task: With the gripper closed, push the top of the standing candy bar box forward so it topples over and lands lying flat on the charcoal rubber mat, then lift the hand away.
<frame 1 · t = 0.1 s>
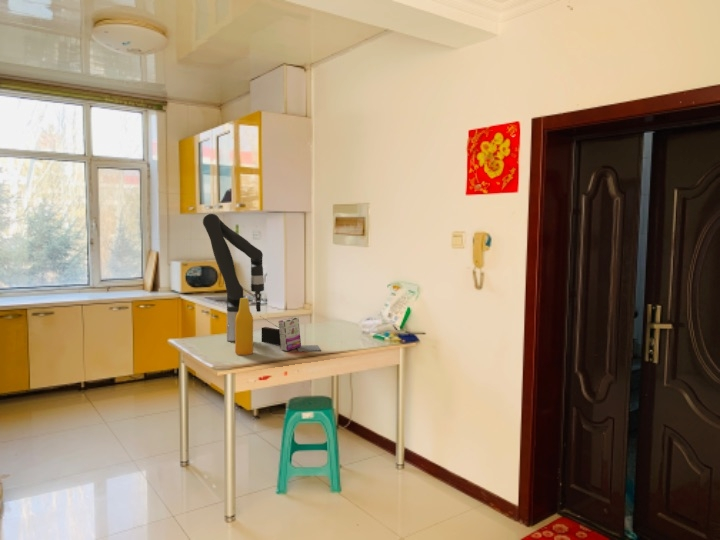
hand: (258, 310, 309), 17 cm above the table, tool pointing down, fingers open, 8 cm apart
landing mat: (308, 348, 288), on the table
candy bar box: (291, 349, 286), on the table, touching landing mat
radio: (272, 343, 300), on the table
beer bottle: (244, 353, 275), on the table
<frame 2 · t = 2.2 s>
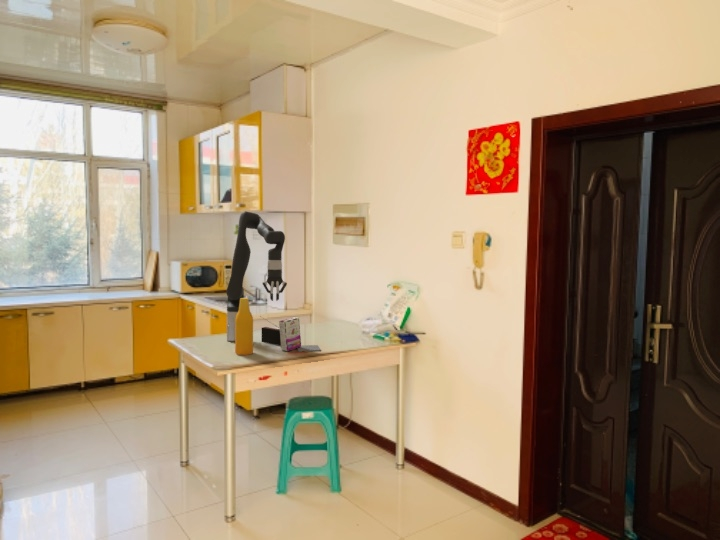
hand: (274, 300, 282), 27 cm above the table, tool pointing down, fingers closed
nothing on the table moved.
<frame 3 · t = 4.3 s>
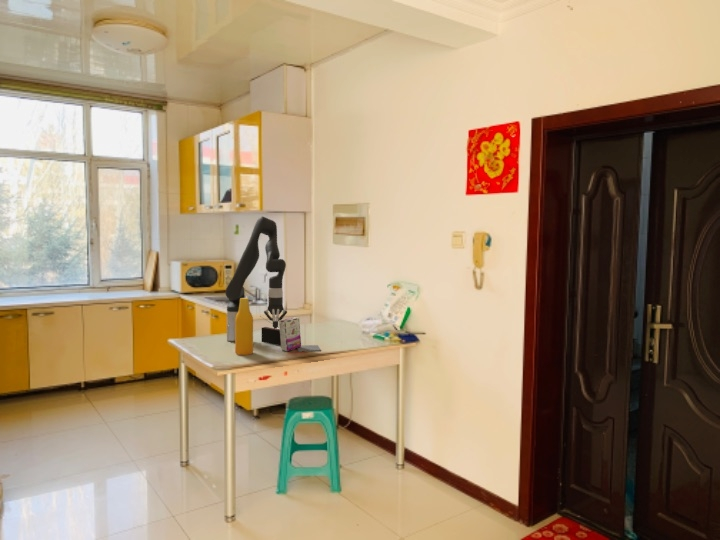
hand: (275, 328, 283), 12 cm above the table, tool pointing down, fingers closed
nothing on the table moved.
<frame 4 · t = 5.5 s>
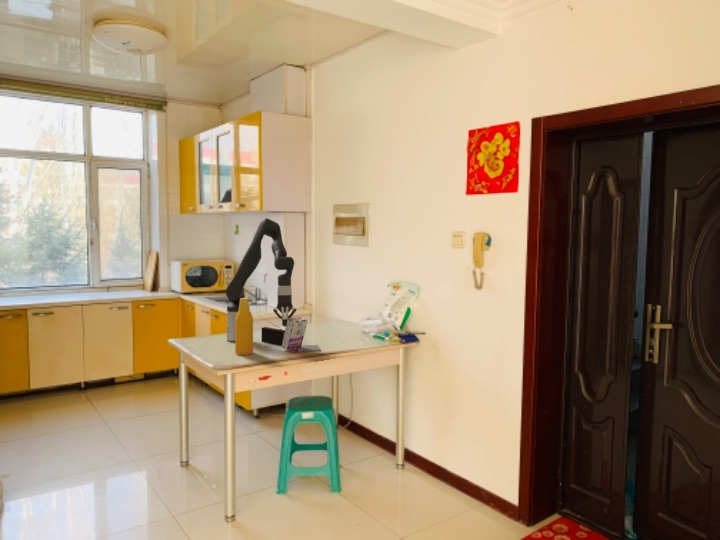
hand: (284, 326, 281), 13 cm above the table, tool pointing down, fingers closed
candy bar box: (291, 347, 286), point 1 cm above the table, touching gripper, hand, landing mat
everything else where it was.
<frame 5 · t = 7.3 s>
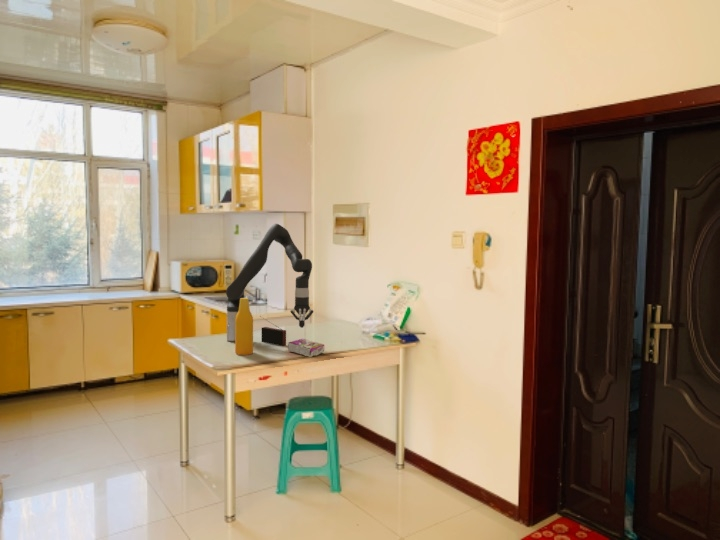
hand: (301, 327, 286), 12 cm above the table, tool pointing down, fingers closed
candy bar box: (294, 344, 284), point 3 cm above the table, touching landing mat
everything else where it was.
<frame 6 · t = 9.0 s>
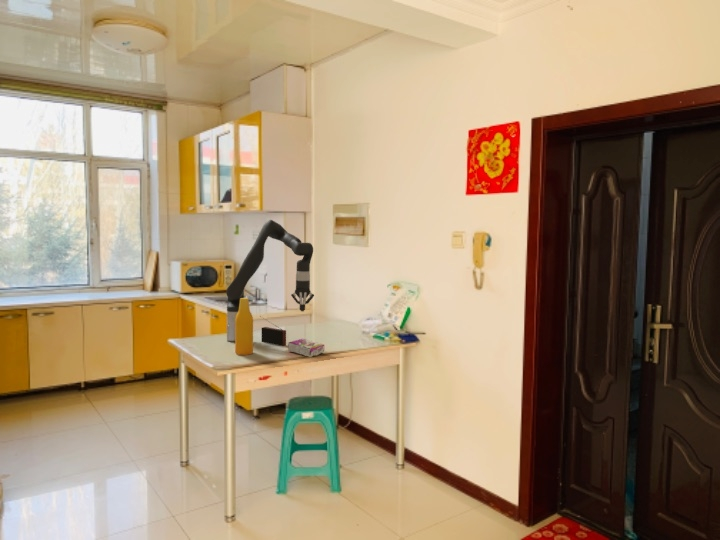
hand: (302, 311, 285), 21 cm above the table, tool pointing down, fingers closed
nothing on the table moved.
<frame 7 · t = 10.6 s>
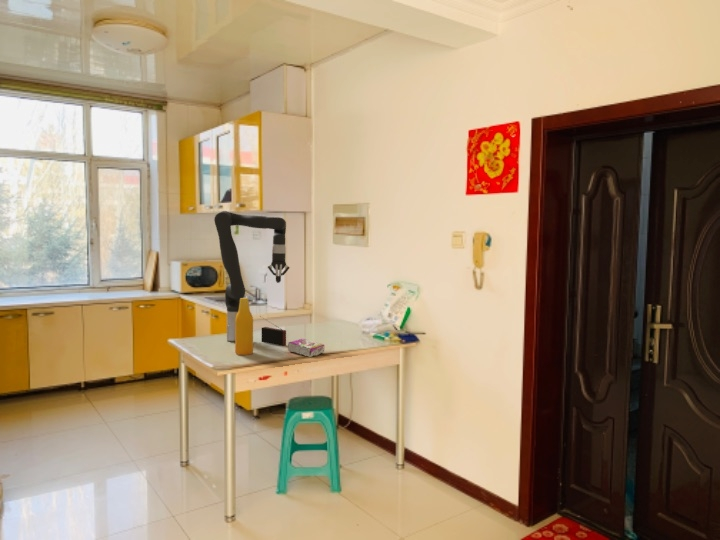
hand: (278, 282, 302), 35 cm above the table, tool pointing down, fingers closed
nothing on the table moved.
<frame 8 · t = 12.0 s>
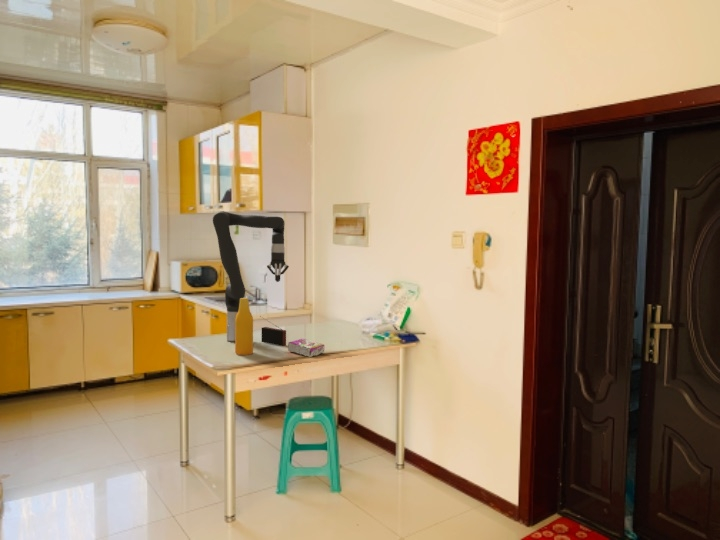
hand: (277, 281, 302), 35 cm above the table, tool pointing down, fingers closed
nothing on the table moved.
at the end: candy bar box tilted 94°; candy bar box touching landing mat, table; candy bar box inside the target area (3.9 cm from its centre), point 3.4 cm above the table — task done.
